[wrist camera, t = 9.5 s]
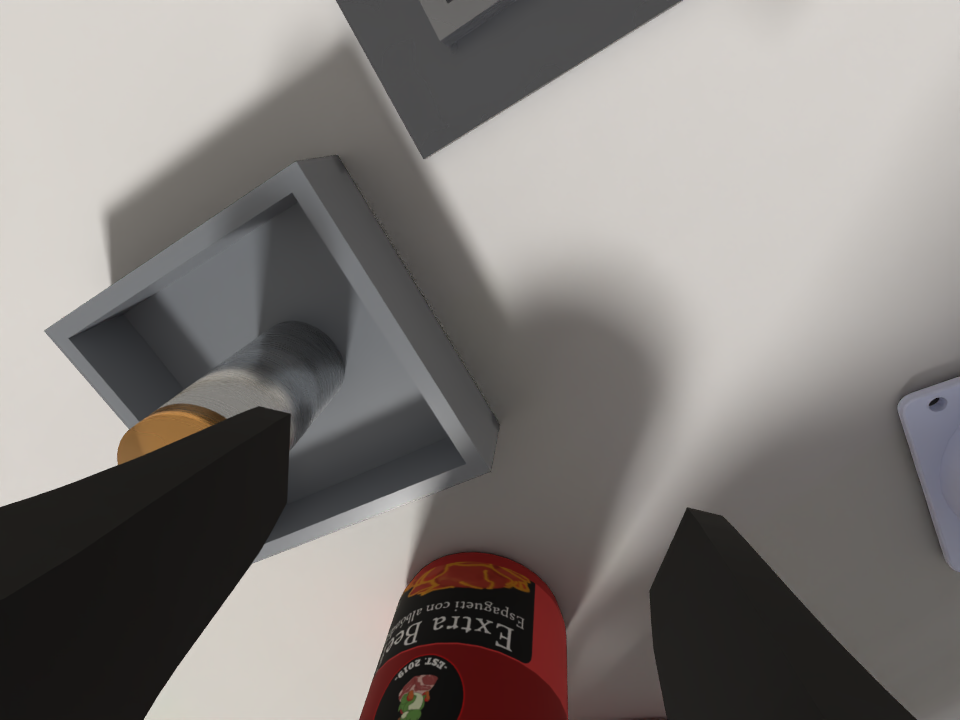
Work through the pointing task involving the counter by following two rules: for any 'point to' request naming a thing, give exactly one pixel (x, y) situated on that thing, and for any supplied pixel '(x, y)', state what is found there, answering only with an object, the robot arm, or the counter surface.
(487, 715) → the canned food
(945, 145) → the counter surface
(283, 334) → the grey and gold cylinder
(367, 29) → the socket base
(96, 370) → the bin
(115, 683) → the robot arm
